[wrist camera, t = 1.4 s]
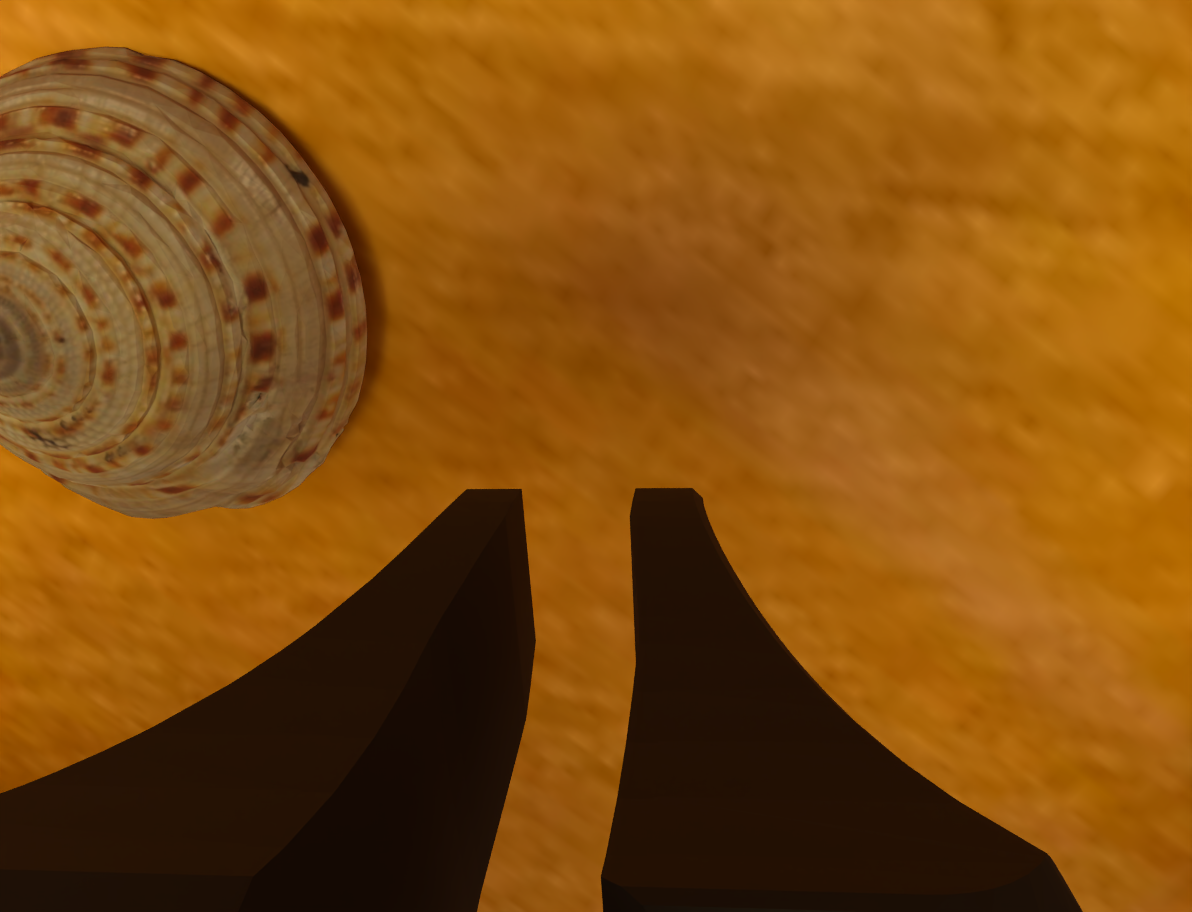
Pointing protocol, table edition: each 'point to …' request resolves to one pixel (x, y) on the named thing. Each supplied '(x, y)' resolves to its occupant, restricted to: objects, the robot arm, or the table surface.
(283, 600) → the table surface
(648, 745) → the robot arm
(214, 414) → the seashell
